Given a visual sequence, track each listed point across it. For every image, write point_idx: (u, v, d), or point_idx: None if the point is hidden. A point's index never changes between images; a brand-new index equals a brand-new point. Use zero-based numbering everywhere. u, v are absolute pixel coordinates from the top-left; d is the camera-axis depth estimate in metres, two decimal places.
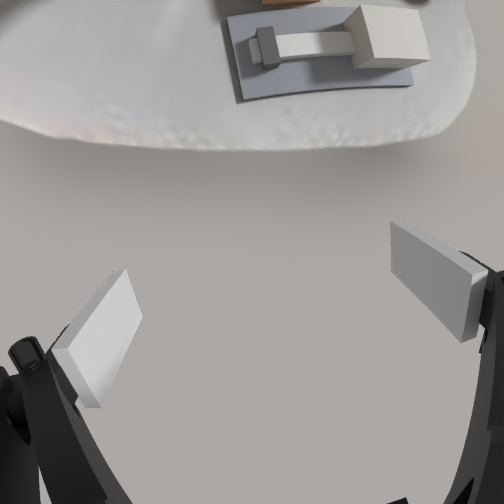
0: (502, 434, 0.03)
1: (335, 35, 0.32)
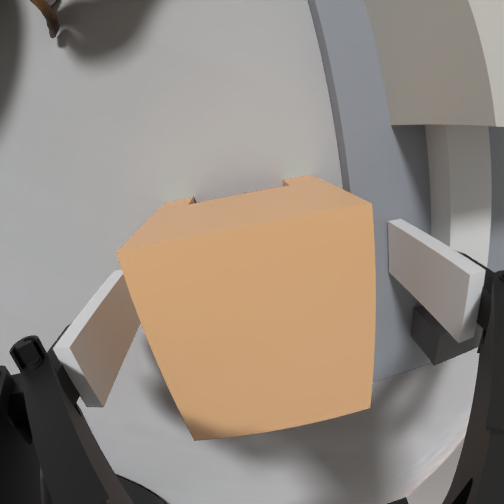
0: (501, 434, 0.03)
1: (458, 170, 0.12)
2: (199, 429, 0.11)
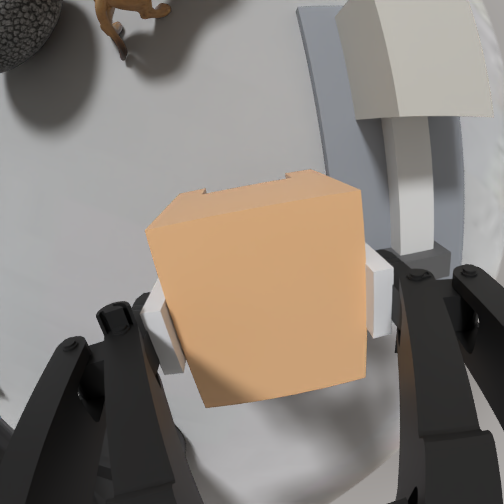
0: (437, 440, 0.04)
1: (402, 148, 0.19)
2: (210, 396, 0.12)
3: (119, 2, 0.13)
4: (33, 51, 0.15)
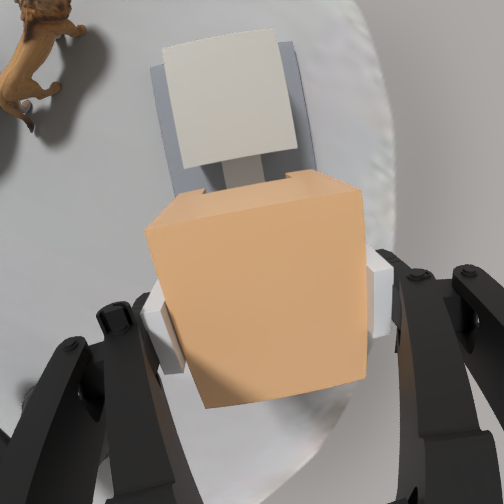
0: (437, 440, 0.04)
1: (233, 183, 0.24)
2: (210, 397, 0.12)
3: (12, 99, 0.18)
4: None
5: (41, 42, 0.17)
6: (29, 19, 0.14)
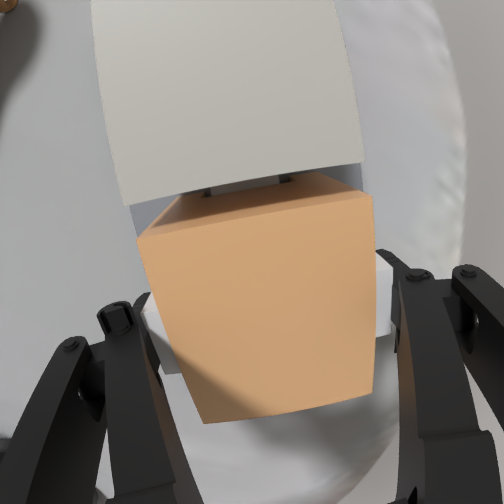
0: (437, 440, 0.04)
1: None
2: (208, 412, 0.11)
3: None
4: None
5: None
6: None
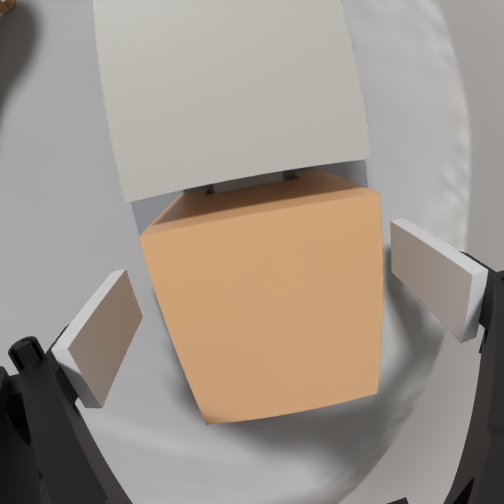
0: (502, 434, 0.03)
1: None
2: (211, 413, 0.11)
3: None
4: None
5: None
6: None
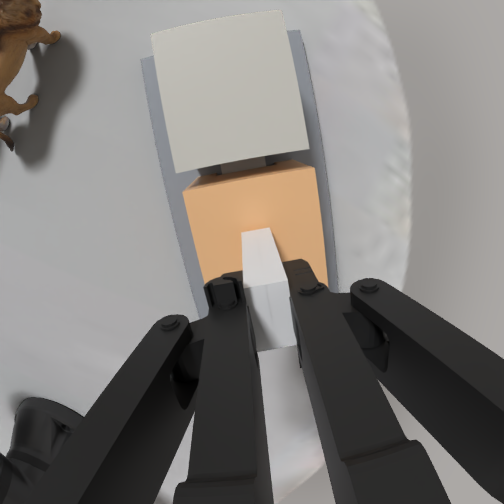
0: (361, 462, 0.04)
1: None
2: None
3: None
4: None
5: (11, 53, 0.14)
6: None
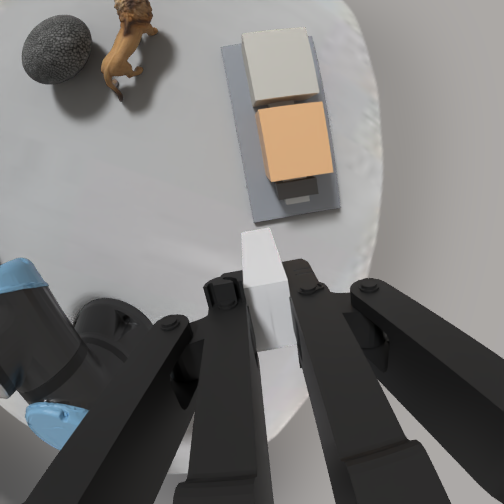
0: (361, 462, 0.04)
1: None
2: (273, 175, 0.34)
3: (116, 74, 0.31)
4: (76, 73, 0.32)
5: (136, 36, 0.30)
6: (129, 20, 0.27)
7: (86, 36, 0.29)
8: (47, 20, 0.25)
